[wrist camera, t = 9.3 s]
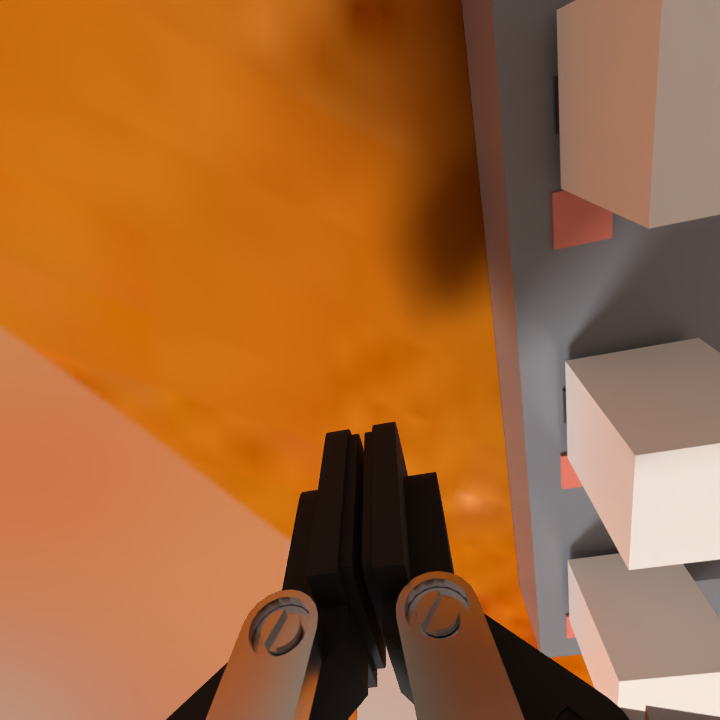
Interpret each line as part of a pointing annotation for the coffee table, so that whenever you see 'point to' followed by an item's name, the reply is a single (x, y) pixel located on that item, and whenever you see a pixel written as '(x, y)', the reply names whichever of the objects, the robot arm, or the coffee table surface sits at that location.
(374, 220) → the coffee table surface
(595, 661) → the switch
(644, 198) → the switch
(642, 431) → the middle switch
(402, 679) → the robot arm
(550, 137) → the switch unit
